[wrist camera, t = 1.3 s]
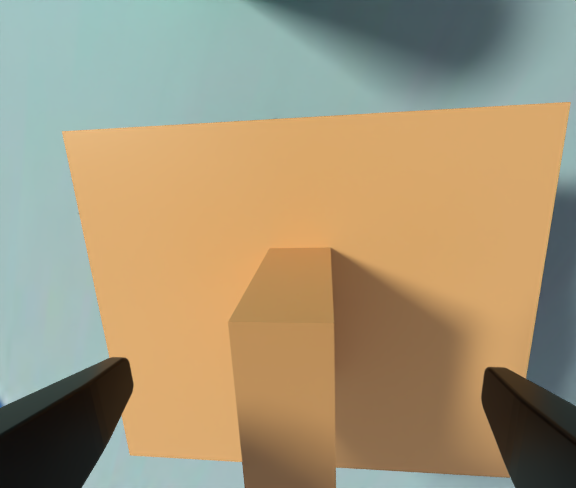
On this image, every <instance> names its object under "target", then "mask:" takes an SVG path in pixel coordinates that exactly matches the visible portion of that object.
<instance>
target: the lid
mask: <svg viewBox="0 0 576 488" xmlns="http://www.w3.org/2000/svg"><path fill="white" fill-rule="evenodd" d="M570 103H571V102H562V103H545V104H528V105H510V106H493V107H476V108H458V109H441V110H424V111H407V112H389V113H372V114H355V115H337V116H320V117H303V118H286V119H268V120H251V121H234V122H216V123H199V124H182V125H164V126H147V127H130V128H113V129H95V130H78V131H62V134H63V138H64V143H65V148H66V153H67V158H68V162H69V167H70V172H71V177H72V181H73V186H74V191H75V196H76V200H77V205H78V210H79V215H80V219H81V224H82V229H83V234H84V238H85V243H86V248H87V253H88V257H89V262H90V267H91V272H92V277H93V281H94V286H95V291H96V296H97V300H98V305H99V310H100V315H101V319H102V324H103V329H104V334H105V338H106V343H107V348H108V353H109V357H110V358H111V357H125V358H127V359H128V360H129V363H130V368H131V373H132V378H133V384H134V387H133V392H132V395H131V397H130V399H129V401H128V403H127V405H126V407H125V409H124V411H123V413H122V419H123V424H124V429H125V434H126V438H127V443H128V448H129V453H130V455H133V456H150V457H167V458H184V459H201V460H218V461H235V462H242V465H243V475H244V484H245V488H336V467H337V468H354V469H371V470H388V471H405V472H422V473H439V474H456V475H473V476H490V477H507V478H510V475H509V473H508V471H507V468H506V466H505V463H504V461H503V458H502V456H501V453H500V451H499V448H498V445H497V443H496V440H495V438H494V435H493V432H492V430H491V427H490V425H489V422H488V419H487V417H486V414H485V412H484V409H483V406H482V401H481V393H482V385H483V377H484V371H485V369H486V368H487V367H505V368H508V369H509V370H511V371H513V372H515V373H517V374H518V375H520V376H522V377H524V378H526V375H527V369H528V363H529V357H530V350H531V344H532V338H533V332H534V326H535V319H536V313H537V307H538V301H539V295H540V289H541V282H542V276H543V270H544V264H545V258H546V251H547V245H548V239H549V233H550V227H551V221H552V214H553V208H554V202H555V196H556V190H557V183H558V177H559V171H560V165H561V159H562V153H563V146H564V140H565V134H566V128H567V122H568V115H569V109H570Z"/></svg>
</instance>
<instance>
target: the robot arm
mask: <svg viewBox="0 0 576 488" xmlns="http://www.w3.org/2000/svg"><path fill="white" fill-rule="evenodd" d="M133 387H134V384H133V378H132V373H131V368H130V363H129V360H128V359H127V358H125V357H111V358H108V359H106V360H104V361H102V362H100V363H97V364H95V365H93V366H91V367H89V368H86V369H84V370H82V371H80V372H78V373H75V374H73V375H71V376H69V377H67V378H65V379H62V380H60V381H58V382H56V383H54V384H51V385H49V386H47V387H45V388H43V389H40V390H38V391H36V392H34V393H32V394H30V395H27V396H25V397H23V398H21V399H19V400H16V401H14V402H12V403H10V404H8V405H6V406H3V407H1V408H0V488H82V486H83V485H84V483H85V481H86V480H87V478H88V476H89V475H90V473H91V471H92V470H93V468H94V466H95V465H96V463H97V461H98V460H99V458H100V456H101V455H102V453H103V451H104V449H105V447H106V445H107V444H108V442H109V440H110V438H111V436H112V434H113V432H114V430H115V427H116V425H117V423H118V421H119V419H120V417H121V415H122V413H123V411H124V409H125V407H126V405H127V403H128V401H129V399H130V397H131V395H132V392H133ZM481 401H482V406H483V409H484V412H485V414H486V417H487V419H488V422H489V425H490V427H491V430H492V432H493V435H494V438H495V440H496V443H497V445H498V448H499V451H500V453H501V456H502V458H503V461H504V463H505V466H506V468H507V471H508V473H509V475H510V477H511V479H512V482H513V484H514V486H515V488H576V406H574V405H573V404H571V403H569V402H567V401H565V400H564V399H562V398H560V397H558V396H556V395H555V394H553V393H551V392H549V391H547V390H546V389H544V388H542V387H540V386H538V385H536V384H535V383H533V382H531V381H529V380H527V379H526V378H524V377H522V376H520V375H518V374H517V373H515V372H513V371H511V370H509V369H508V368H505V367H487V368H486V369H485V371H484V377H483V385H482V393H481Z"/></svg>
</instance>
